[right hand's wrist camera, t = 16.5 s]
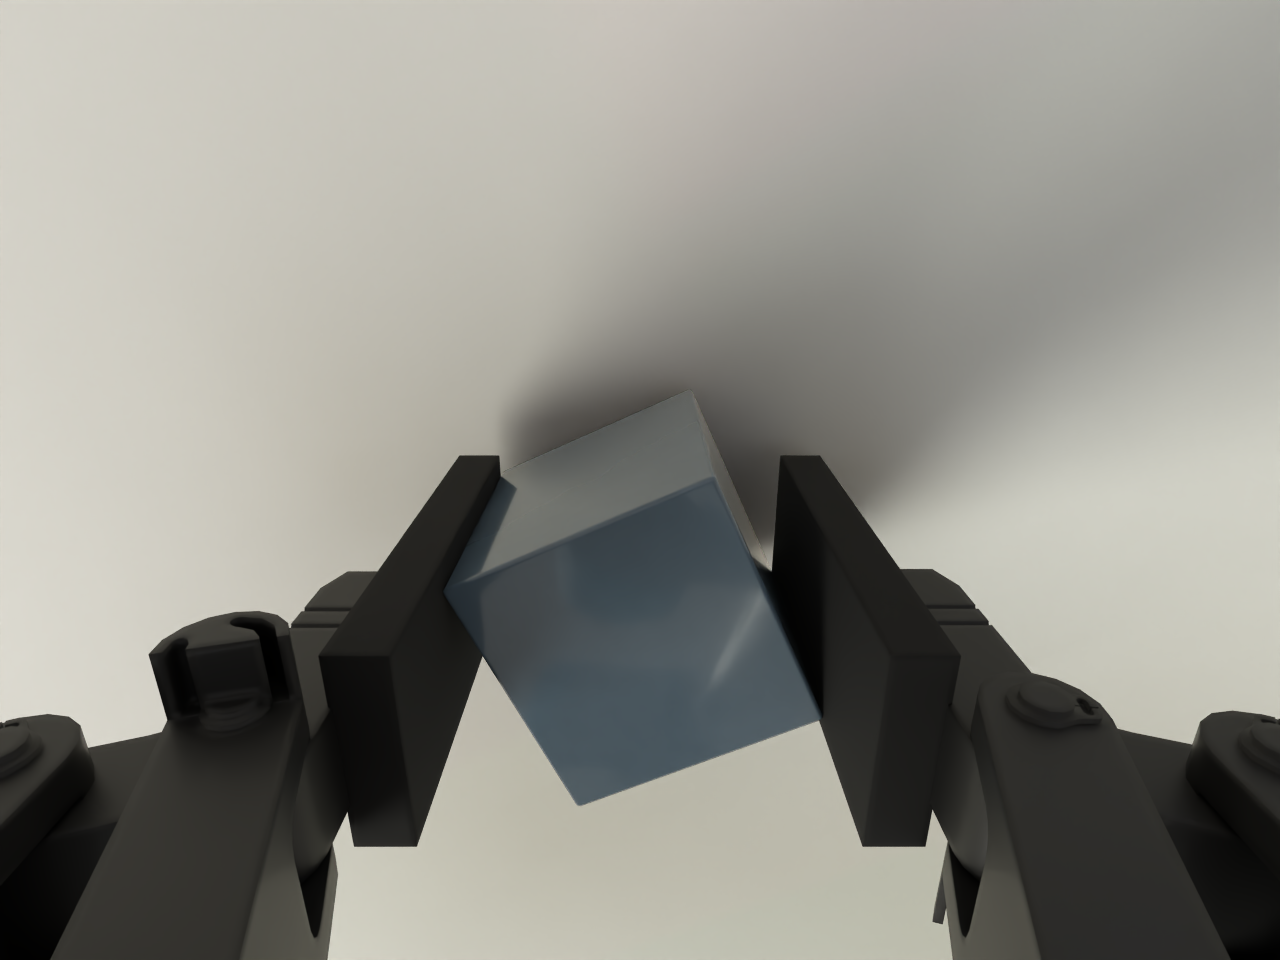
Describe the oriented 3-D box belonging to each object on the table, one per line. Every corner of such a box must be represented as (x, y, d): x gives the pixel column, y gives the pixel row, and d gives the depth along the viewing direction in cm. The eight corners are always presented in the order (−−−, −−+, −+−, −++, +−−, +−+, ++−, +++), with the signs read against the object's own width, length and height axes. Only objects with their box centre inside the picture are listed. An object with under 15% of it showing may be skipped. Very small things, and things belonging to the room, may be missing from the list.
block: (770, 568, 15) (825, 719, 11) (595, 637, 16) (577, 809, 11) (690, 387, 14) (715, 475, 9) (501, 471, 14) (439, 591, 10)
